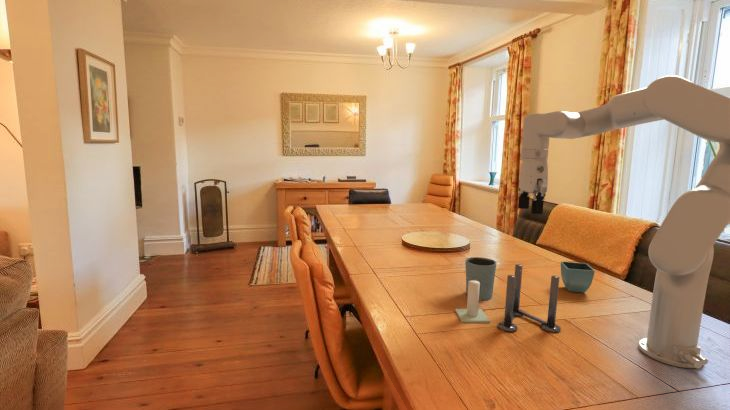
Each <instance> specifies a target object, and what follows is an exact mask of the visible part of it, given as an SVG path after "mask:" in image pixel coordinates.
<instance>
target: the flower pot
mask: <svg viewBox="0 0 730 410" xmlns="http://www.w3.org/2000/svg"><path fill="white" fill-rule="evenodd" d="M595 272H596V270H595V269H594V268H592V267H591V266H590V265H589V264H588V263H585V262H573V261H560V276H561V280H562V282H563V285H564V287H565V288H566V289H567V291H569V292H571V293H572V292H573V293H586V292H587V291H588V290H589V289H590V287H591V286H592V284H593V280H594V276H595V274H596V273H595Z"/></svg>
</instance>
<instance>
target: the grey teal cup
mask: <svg viewBox="0 0 730 410" xmlns="http://www.w3.org/2000/svg"><path fill="white" fill-rule="evenodd" d="M497 264H498V263H497V261H496V260H494V259H491V258H488V257H487V258H486V257H478V256H476V257H475V256H473V257H468V258H465V283H466V285H465V293H466V294H465V295H466V296H467V297H468V282H469V281H471V280H474V281H478V282H480V288H479V301H488V300H492V298H493V294H494V285H495V284H494V283H495V276H496V275H495V274H496V272H497V271H496V270H497Z"/></svg>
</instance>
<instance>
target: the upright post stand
mask: <svg viewBox="0 0 730 410" xmlns="http://www.w3.org/2000/svg"><path fill="white" fill-rule="evenodd" d="M522 276H523V265H522V264H521V263H520V264H518V263H516V264H515V265H514V275H513V274H507V276H506V277H507V278H506V291H505V304H504V305H505V306H504V318H503V319H504V320H503V321H500V322H499V323H497V328H498V329H499V330H501V331H502V332H507V333H514V332H517V331H518V326H517V325H516V324H515V323H513V320H514V318H515V317H523V316H524V317H526V318H529V319H530V320H533V321H535V322H537V323H540V329H542V330H543V331H545V332H549V333H553V334H555V333H557V334H558V333H560V332H561V331H562V330H561V329H562V328H561V326H560V325H558V324H556V319H557V317H556V316H557V309H558V308H557V307H558V297H559V286H560V276H557V275H551V277H550V285H549V287H550V289H549V299H548V310H547V318H546V319H547V320H545V319H542V318H539V317H537V316H534V315H532V314H530V313H529V312H525V311H524V310H523V309H520V301H521V300H520V299H521V291H522V290H521V289H522Z"/></svg>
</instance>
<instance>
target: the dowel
mask: <svg viewBox="0 0 730 410" xmlns="http://www.w3.org/2000/svg"><path fill="white" fill-rule="evenodd" d="M479 288H480V282H478V281H474V280H471V281H469V282H468V296H467V301H466V309H467V315H468V316H470V317H477V316H478V309H479V301H480V300H479Z"/></svg>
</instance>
